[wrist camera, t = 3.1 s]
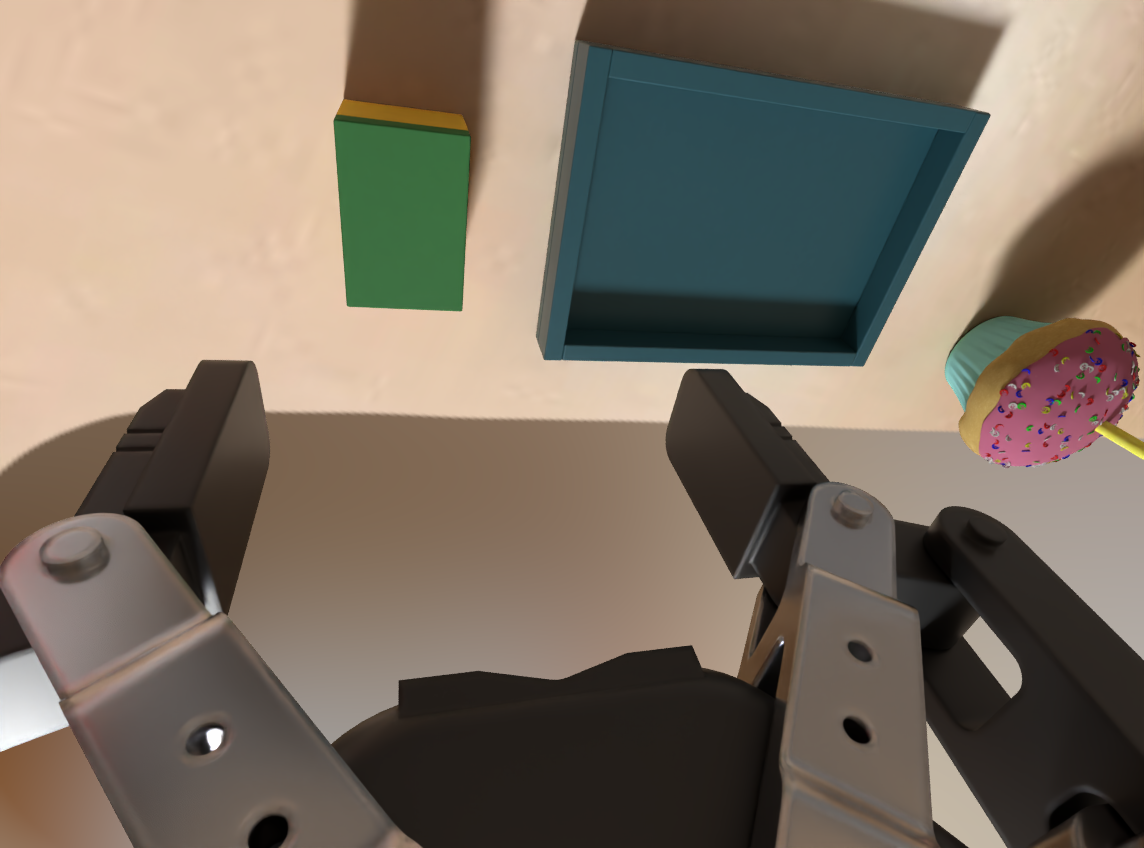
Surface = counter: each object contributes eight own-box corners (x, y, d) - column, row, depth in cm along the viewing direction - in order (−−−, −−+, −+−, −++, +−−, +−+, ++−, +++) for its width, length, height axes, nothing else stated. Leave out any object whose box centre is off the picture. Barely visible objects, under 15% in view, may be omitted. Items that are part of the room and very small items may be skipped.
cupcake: (1082, 293, 33) (1346, 419, 24) (991, 416, 38) (1182, 561, 29) (965, 277, 31) (1209, 412, 21) (884, 411, 35) (1055, 569, 26)
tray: (535, 337, 27) (543, 360, 25) (574, 39, 20) (589, 44, 19) (840, 346, 32) (864, 367, 30) (954, 104, 25) (992, 113, 23)
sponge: (455, 274, 25) (462, 312, 22) (353, 268, 23) (346, 307, 21) (462, 114, 21) (470, 135, 18) (342, 98, 20) (333, 119, 17)
